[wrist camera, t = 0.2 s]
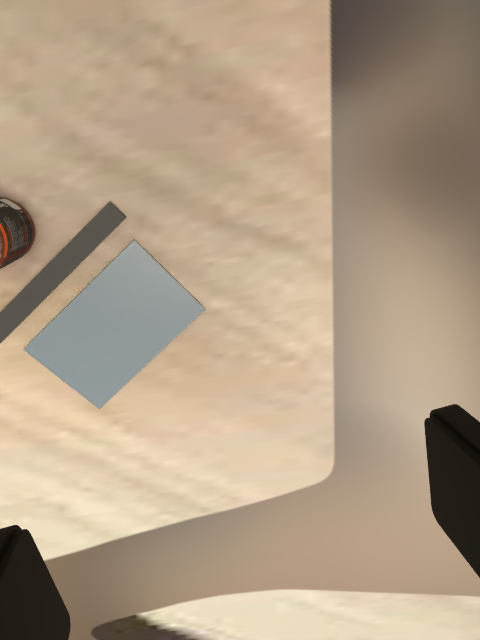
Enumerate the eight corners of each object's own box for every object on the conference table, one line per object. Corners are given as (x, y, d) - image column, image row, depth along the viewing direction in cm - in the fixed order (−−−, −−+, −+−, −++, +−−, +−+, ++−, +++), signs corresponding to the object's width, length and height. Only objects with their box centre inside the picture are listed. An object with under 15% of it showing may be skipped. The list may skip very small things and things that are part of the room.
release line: (-16, 329, 44) (-18, 330, 44) (110, 201, 42) (109, 201, 42) (1, 342, 45) (-1, 343, 44) (126, 217, 43) (125, 217, 42)
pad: (24, 348, 45) (23, 349, 45) (134, 239, 44) (134, 239, 43) (99, 407, 49) (99, 409, 48) (205, 308, 47) (205, 309, 47)
